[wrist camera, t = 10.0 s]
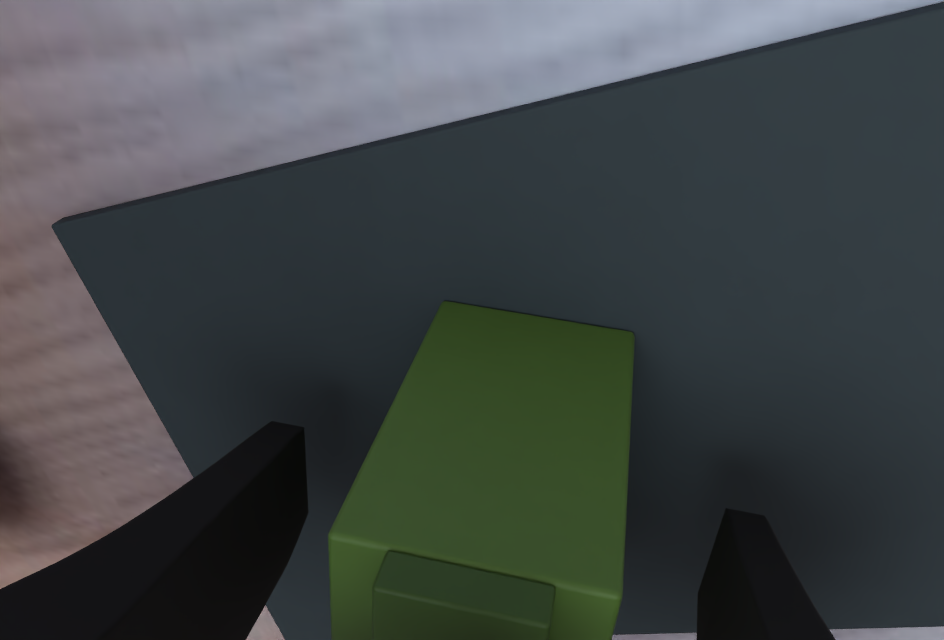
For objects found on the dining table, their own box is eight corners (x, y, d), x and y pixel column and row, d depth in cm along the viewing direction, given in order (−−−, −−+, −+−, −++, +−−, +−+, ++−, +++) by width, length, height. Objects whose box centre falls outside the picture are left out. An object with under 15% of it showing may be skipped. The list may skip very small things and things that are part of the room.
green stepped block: (592, 533, 16) (558, 875, 11) (429, 500, 17) (318, 811, 11) (635, 330, 14) (621, 643, 8) (441, 297, 14) (306, 573, 9)
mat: (981, 609, 16) (988, 626, 15) (292, 631, 21) (286, 643, 20) (984, -9, 11) (995, -5, 10) (62, 217, 15) (49, 225, 15)
